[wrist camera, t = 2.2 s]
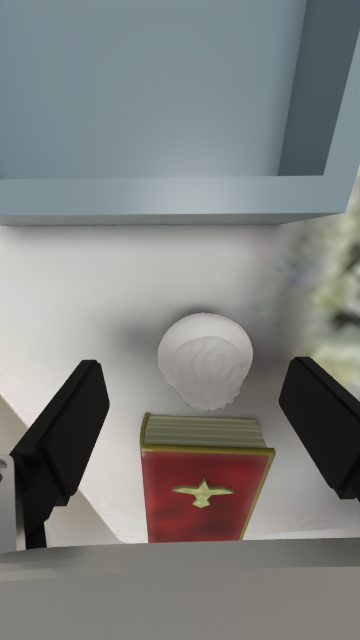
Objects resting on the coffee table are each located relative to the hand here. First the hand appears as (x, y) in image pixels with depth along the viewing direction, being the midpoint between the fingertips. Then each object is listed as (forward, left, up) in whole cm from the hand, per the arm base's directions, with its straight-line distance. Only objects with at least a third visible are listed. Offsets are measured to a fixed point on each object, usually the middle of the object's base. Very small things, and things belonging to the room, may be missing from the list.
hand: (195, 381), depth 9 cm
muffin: (-1, +1, -7) cm, 7 cm away
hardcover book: (-1, +21, -7) cm, 22 cm away
